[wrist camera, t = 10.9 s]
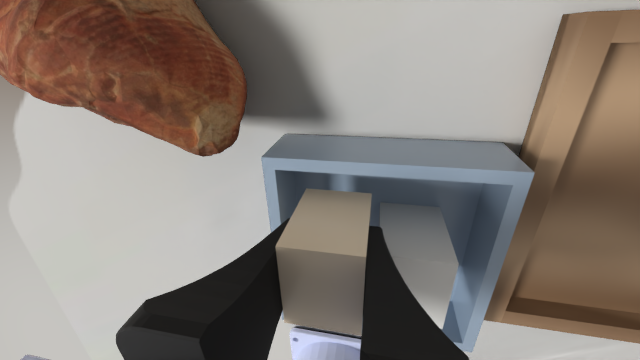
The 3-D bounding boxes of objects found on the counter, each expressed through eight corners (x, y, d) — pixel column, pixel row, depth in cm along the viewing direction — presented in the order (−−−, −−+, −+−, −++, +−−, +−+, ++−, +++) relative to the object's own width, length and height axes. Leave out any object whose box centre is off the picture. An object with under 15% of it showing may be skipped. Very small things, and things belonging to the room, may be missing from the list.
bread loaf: (294, 107, 12) (-79, 210, 6) (244, 180, 18) (47, 261, 13) (156, -126, 13) (-269, -232, 7) (156, 22, 20) (-61, 31, 14)
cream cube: (367, 258, 15) (361, 335, 11) (309, 251, 16) (284, 322, 12) (371, 193, 13) (365, 257, 9) (306, 188, 14) (275, 246, 10)
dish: (458, 301, 19) (471, 352, 16) (297, 278, 21) (282, 319, 18) (502, 142, 14) (535, 172, 11) (284, 133, 16) (261, 157, 13)
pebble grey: (429, 263, 17) (442, 329, 13) (375, 256, 18) (373, 318, 14) (439, 206, 16) (458, 264, 12) (380, 202, 16) (379, 255, 12)
